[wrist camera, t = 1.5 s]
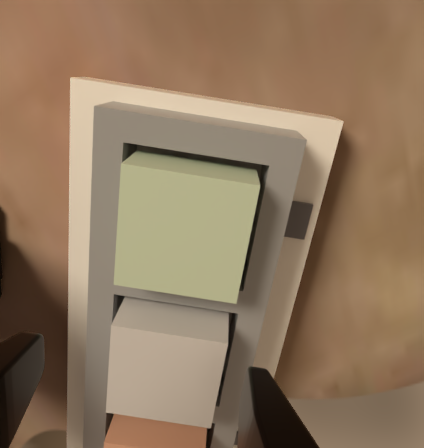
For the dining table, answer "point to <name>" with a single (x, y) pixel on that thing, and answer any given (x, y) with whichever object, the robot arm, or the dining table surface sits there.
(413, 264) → the dining table surface
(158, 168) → the sage key
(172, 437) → the clay key
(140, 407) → the grey key
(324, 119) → the grey piece
